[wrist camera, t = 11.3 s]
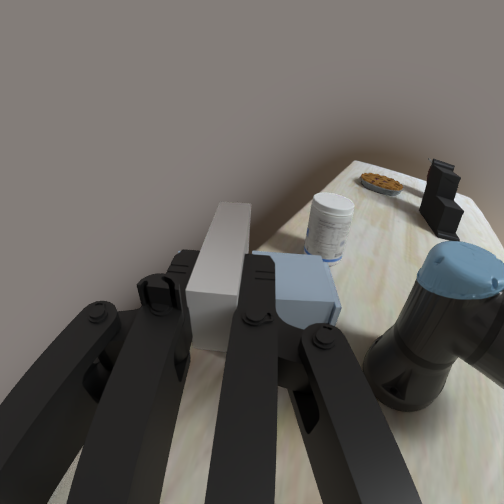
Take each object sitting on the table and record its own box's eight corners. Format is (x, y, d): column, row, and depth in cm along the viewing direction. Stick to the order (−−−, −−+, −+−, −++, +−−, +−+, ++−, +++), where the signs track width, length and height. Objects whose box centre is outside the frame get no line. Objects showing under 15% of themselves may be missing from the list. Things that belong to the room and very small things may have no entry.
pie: (366, 177, 134) (367, 168, 132) (404, 191, 123) (407, 182, 121) (352, 185, 119) (354, 175, 117) (397, 201, 108) (400, 190, 106)
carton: (310, 322, 48) (328, 256, 41) (317, 369, 40) (343, 302, 32) (247, 319, 48) (252, 250, 41) (244, 367, 40) (249, 298, 32)
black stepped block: (459, 243, 80) (480, 183, 68) (436, 237, 82) (456, 174, 69) (438, 216, 100) (453, 165, 87) (418, 211, 101) (432, 158, 89)
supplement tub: (304, 243, 72) (313, 188, 64) (340, 249, 70) (353, 196, 62) (301, 263, 64) (311, 203, 56) (341, 271, 62) (357, 212, 54)
